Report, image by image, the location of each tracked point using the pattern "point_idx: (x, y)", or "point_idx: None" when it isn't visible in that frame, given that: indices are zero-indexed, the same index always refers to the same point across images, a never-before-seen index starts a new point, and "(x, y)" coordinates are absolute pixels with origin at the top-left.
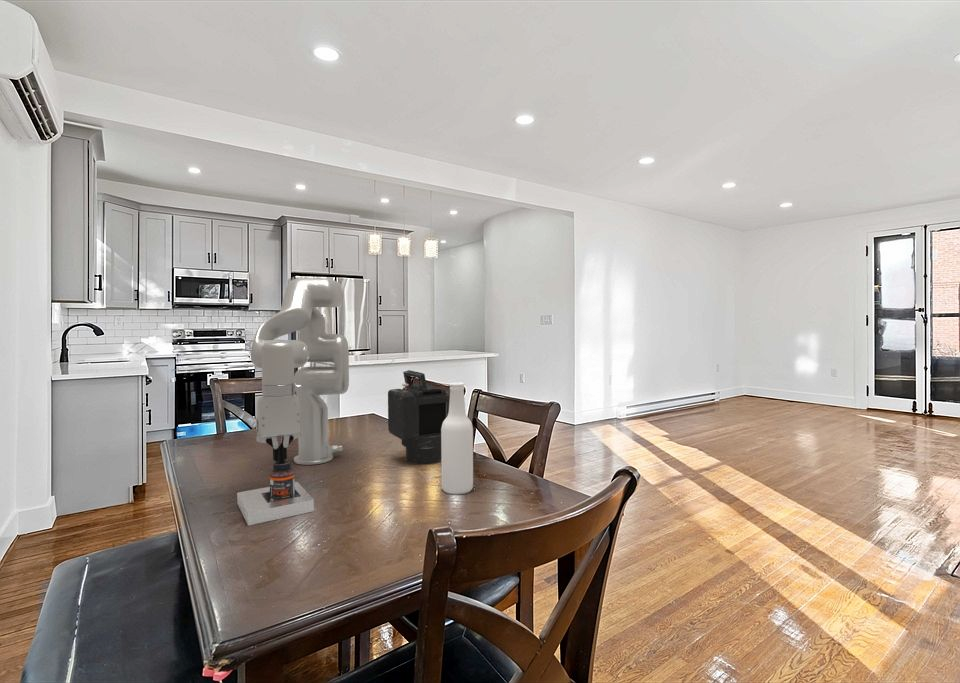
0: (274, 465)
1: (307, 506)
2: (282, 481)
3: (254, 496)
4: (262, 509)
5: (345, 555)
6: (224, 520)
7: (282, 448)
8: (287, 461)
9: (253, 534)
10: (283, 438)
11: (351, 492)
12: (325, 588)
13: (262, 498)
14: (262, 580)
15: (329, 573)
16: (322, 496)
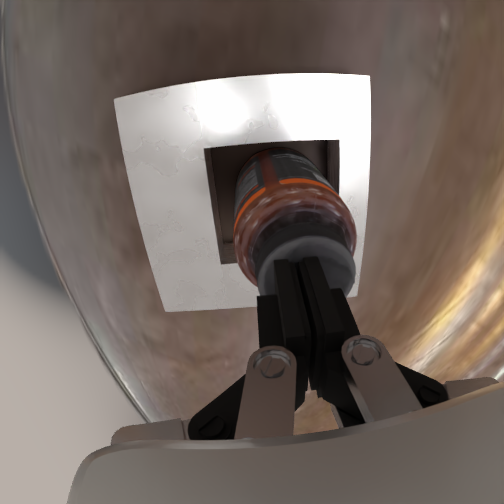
0: (259, 290)
1: None
2: None
3: (177, 175)
4: (204, 307)
5: (314, 421)
6: (108, 225)
7: (318, 397)
8: (341, 278)
9: (188, 333)
10: (371, 404)
11: (474, 187)
12: None
13: (206, 212)
14: None
15: None
16: (409, 169)
